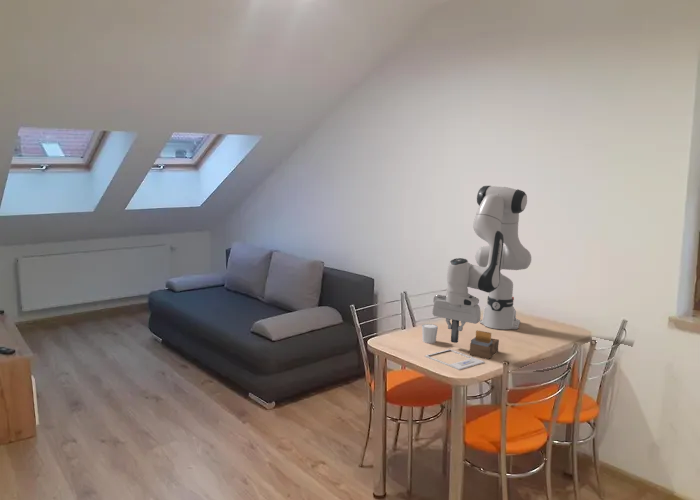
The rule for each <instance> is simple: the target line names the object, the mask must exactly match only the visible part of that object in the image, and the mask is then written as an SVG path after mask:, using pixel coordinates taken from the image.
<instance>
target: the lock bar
mask: <svg viewBox="0 0 700 500" xmlns="http://www.w3.org/2000/svg"><path fill="white" fill-rule="evenodd" d="M491 338H492V332H488V331H482V330H475V337H473V338H472V339H470V343H471V344H476V345H481V346H486V347H489V346H490V345H491V344H492V340H491Z"/></svg>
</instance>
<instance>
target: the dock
mask: <svg viewBox="0 0 700 500" xmlns="http://www.w3.org/2000/svg"><path fill="white" fill-rule="evenodd" d="M491 340H492V344H491V345H490V346H489V347H486V346H481V345H476V344H471V342H470V344H469V356H470V357H477V358H480V359H485V358H486V359H487V360H490V359H491V358H492V357H493V356H494V355H495V354H496V353H498V352H499V345H500V344H499V341H500V340H499V339H496V338H492V337H491ZM489 358H490V359H489Z"/></svg>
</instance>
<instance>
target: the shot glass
mask: <svg viewBox="0 0 700 500" xmlns="http://www.w3.org/2000/svg"><path fill="white" fill-rule="evenodd" d="M421 335H422V343H425V344H436V341H437V335H438V325H436V324H432V323H425V324H422V325H421Z"/></svg>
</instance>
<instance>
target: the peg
mask: <svg viewBox="0 0 700 500" xmlns="http://www.w3.org/2000/svg"><path fill="white" fill-rule="evenodd" d="M451 324H452V329H450V331H451V332H450V334H451V335H450V343H454V344H456V343H458V342H459V335H460V334H459V333H460V331H458V326H460V321H458V320H453V319H451Z"/></svg>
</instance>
